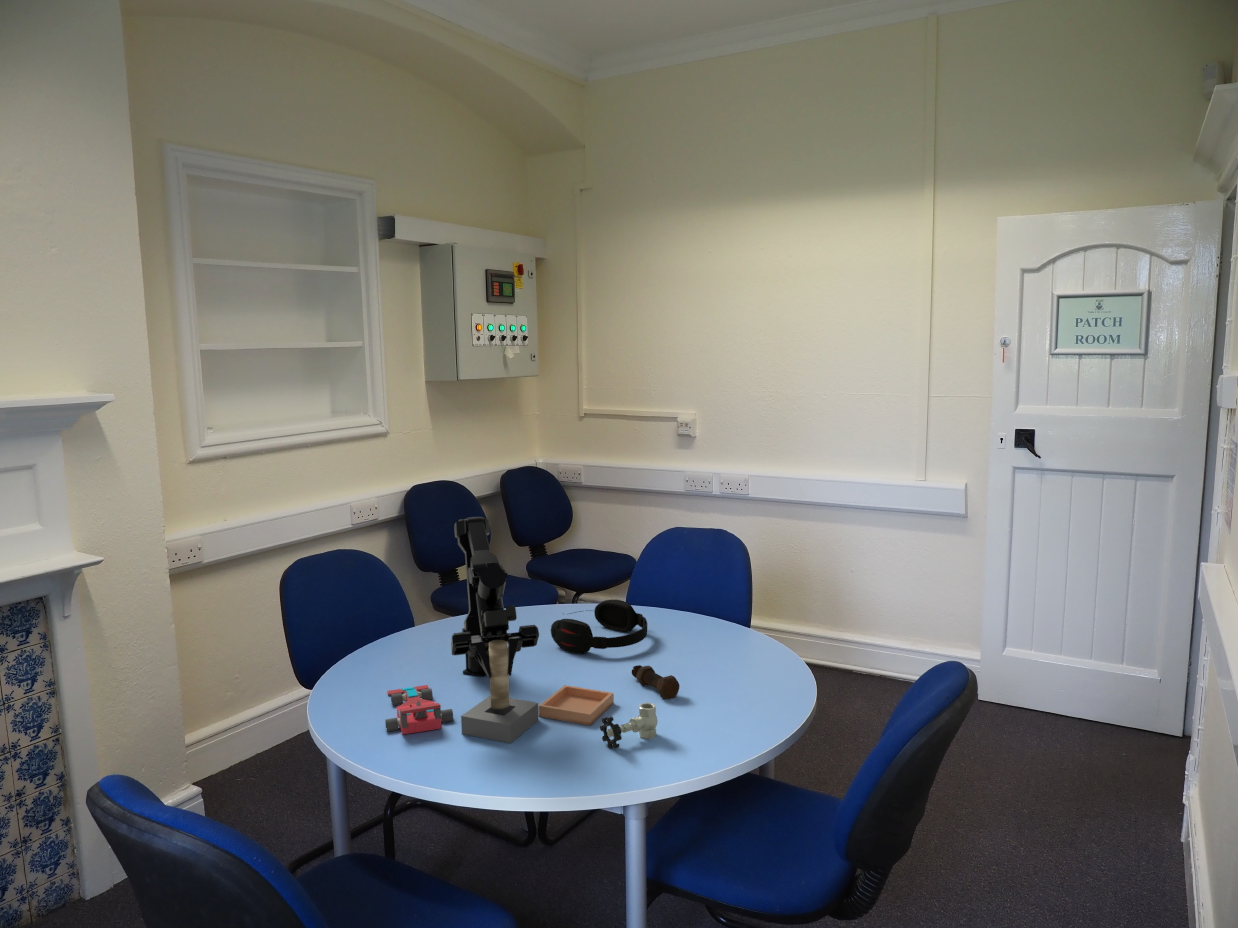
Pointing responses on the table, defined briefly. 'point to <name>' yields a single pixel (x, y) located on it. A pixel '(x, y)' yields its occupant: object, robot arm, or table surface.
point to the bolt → (656, 681)
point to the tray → (576, 705)
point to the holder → (500, 720)
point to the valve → (631, 725)
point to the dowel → (499, 674)
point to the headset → (608, 614)
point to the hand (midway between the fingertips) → (500, 676)
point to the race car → (416, 710)
